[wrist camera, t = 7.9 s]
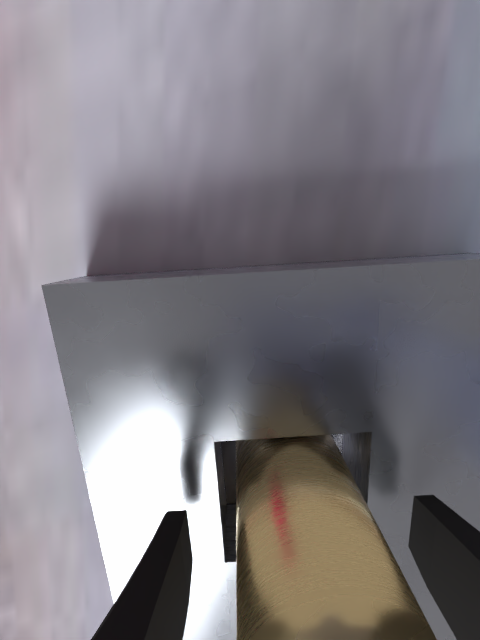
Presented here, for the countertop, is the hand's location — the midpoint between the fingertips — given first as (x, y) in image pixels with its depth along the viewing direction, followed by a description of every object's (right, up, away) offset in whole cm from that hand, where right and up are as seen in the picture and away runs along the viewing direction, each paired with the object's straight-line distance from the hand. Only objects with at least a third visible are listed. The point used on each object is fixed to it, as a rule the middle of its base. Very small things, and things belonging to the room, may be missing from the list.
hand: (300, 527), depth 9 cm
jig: (0, +1, +3) cm, 3 cm away
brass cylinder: (0, +1, +3) cm, 4 cm away
